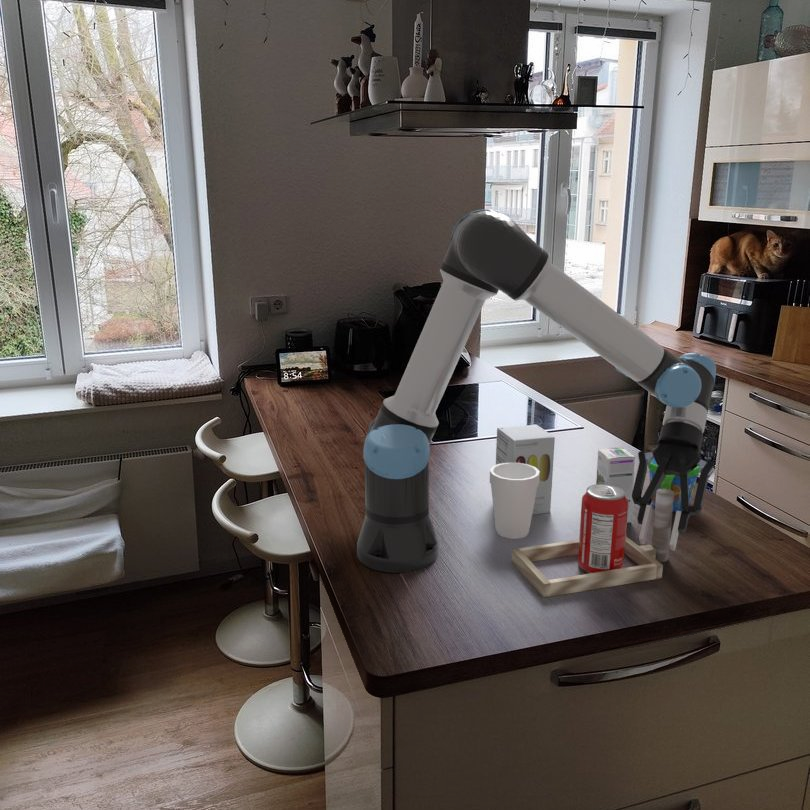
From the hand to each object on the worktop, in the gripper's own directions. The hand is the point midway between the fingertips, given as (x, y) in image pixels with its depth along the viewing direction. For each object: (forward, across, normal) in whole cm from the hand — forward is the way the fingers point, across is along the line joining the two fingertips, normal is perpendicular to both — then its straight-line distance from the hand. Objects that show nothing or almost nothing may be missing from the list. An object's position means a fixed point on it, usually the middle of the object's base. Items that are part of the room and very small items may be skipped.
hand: (656, 544), depth 136 cm
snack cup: (-17, +3, -24) cm, 30 cm away
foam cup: (+2, +28, -5) cm, 28 cm away
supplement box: (-7, +30, -14) cm, 34 cm away
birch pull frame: (+7, +9, 0) cm, 11 cm away
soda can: (+7, +8, 0) cm, 11 cm away
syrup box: (-9, +12, -16) cm, 22 cm away
